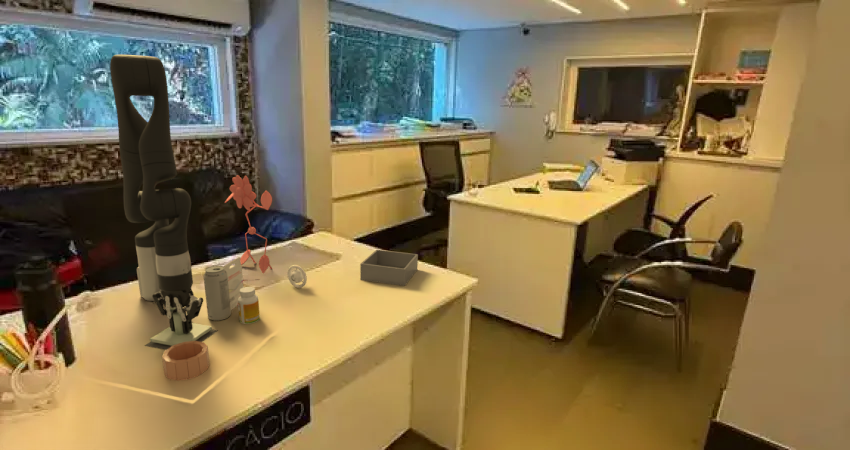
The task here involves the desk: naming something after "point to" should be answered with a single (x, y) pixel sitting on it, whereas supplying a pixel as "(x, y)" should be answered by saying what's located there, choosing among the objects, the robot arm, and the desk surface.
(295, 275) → the white round piece
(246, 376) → the desk surface
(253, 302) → the supplement bottle
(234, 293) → the ink cartridge box
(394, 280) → the tray
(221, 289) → the energy drink can
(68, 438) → the desk surface
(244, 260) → the pink flower figurine
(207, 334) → the mat
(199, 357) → the bowl
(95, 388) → the desk surface
